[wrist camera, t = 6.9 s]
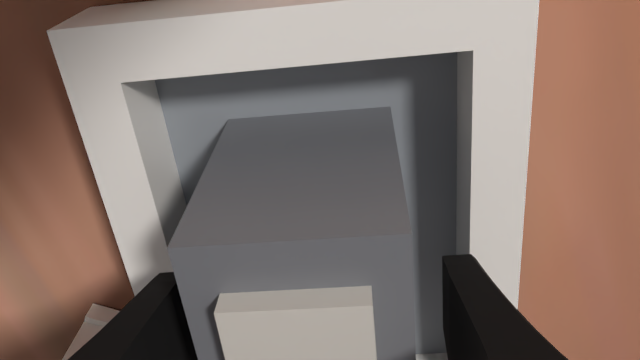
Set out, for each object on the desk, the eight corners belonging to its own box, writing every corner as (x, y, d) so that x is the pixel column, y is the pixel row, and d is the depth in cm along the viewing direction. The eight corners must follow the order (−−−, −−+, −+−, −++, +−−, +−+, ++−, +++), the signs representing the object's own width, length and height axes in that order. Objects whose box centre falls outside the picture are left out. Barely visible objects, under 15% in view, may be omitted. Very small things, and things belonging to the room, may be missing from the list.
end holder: (492, 371, 18) (508, 430, 16) (199, 383, 19) (182, 441, 17) (511, -37, 13) (540, -20, 11) (89, 7, 13) (46, 30, 11)
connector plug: (399, 299, 17) (422, 497, 12) (264, 305, 17) (226, 500, 12) (390, 106, 14) (415, 252, 9) (228, 119, 14) (158, 266, 9)
